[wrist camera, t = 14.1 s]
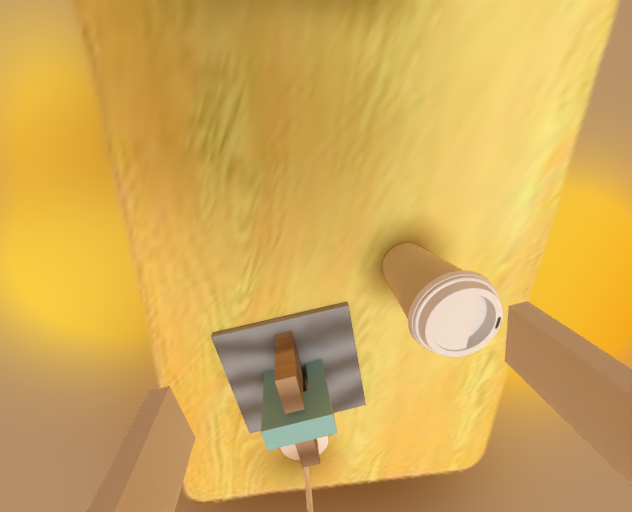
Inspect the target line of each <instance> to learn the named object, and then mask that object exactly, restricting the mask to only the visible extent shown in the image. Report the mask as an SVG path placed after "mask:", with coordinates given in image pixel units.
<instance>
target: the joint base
mask: <svg viewBox="0 0 632 512" xmlns="http://www.w3.org/2000/svg"><path fill="white" fill-rule="evenodd" d="M211 338H212V340H213V343H214V345H215V348H216V350H217V353H218V355H219V358H220V360H221V363H222V365H223V368H224V370H225V373H226V375H227V378H228V380H229V383H230V385H231V388H232V390H233V393H234V395H235V398H236V400H237V403H238V405H239V408H240V410H241V413H242V415H243V418H244V420H245V423H246V425H247V428H248V430H249V433H253V432H257V431H261V420H262V403H263V386H264V372H268V371H272V370H275V384H276V387H277V390H278V393H279V396H280V399H281V402H282V405H283V409H284V412H285V414H288V413H292V412H296V411H300V410H304V409H305V405H304V395H303V392H305V391H309V384H308V376H307V368H306V362H310V361H314V360H318V359H322V362H323V366H324V371H325V375H326V380H327V385H328V390H329V395H330V400H331V405H332V410H333V413H335V412H339V411H343V410H347V409H351V408H355V407H359V406H363V405H366V404H365V398H364V392H363V386H362V381H361V375H360V369H359V363H358V358H357V352H356V346H355V340H354V334H353V329H352V323H351V317H350V311H349V306H348V303H347V302H345V303H340V304H336V305H332V306H327V307H323V308H319V309H314V310H310V311H306V312H301V313H297V314H293V315H289V316H284V317H280V318H276V319H271V320H267V321H263V322H258V323H254V324H250V325H245V326H241V327H237V328H232V329H228V330H224V331H219V332H215V333H213V334H212V336H211ZM295 446H296V449H297V452H298V455H299V458H300V461H301V464H302V468H304V467H308V466H312V465H316V464H320V457H319V450H318V442H317V439H313V440H309V441H305V442H301V443H297V444H295Z"/></svg>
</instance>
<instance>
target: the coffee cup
mask: <svg viewBox="0 0 632 512" xmlns="http://www.w3.org/2000/svg"><path fill="white" fill-rule="evenodd" d="M382 272H383V274H384V276H385V278H386V280H387V282H388V284H389V286H390V287H391V289H392V291H393V293H394V295H395V296H396V298H397V300H398V302H399V304H400V305H401V307H402V309H403V311H404V313H405V315H406V316H407V318H408V326H409V330H410V333H411V335H412V337H413V338H414V339H415V340H416V341H417V342H418V343H419V344H420V345H421V346H423V347H424V348H426V349H428V350H430V351H432V352H435V353H438V354H440V355H443V356H447V357H461V356H465V355H469V354H471V353H474V352H476V351H478V350H479V349H481V348H482V347H484V346H485V345H486V344H487V343H489V342H490V341H491V339H492V338H493V337H494V336H495V334H496V333H497V331H498V330H499V327H500V325H501V322H502V317H503V309H502V305H501V303H500V300H499V296H498V294H497V291H496V289H495V288H494V286H493V285H492V284H491V282H490V281H489V280H488V279H487V278H486V277H484V276H483V275H481V274H479V273H476V272H472V271H464V270H462V269H460V268H458V267H456V266H454V265H452V264H450V263H449V262H447V261H445V260H443V259H441V258H439V257H438V256H436V255H434V254H432V253H430V252H428V251H427V250H425V249H423V248H421V247H419V246H417V245H415V244H412V243H402V244H399V245H397V246H395V247H393V248H392V249H391V250H389V251H388V253H387V254H386V255H385V257H384V259H383V263H382Z"/></svg>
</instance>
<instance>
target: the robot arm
mask: <svg viewBox="0 0 632 512" xmlns="http://www.w3.org/2000/svg"><path fill="white" fill-rule="evenodd" d="M505 362H506V363H507V364H508V365H509V366H510V367H511V368H512V369H513V370H515V372H516V373H518V374H519V375H520V376H521V377H522V378H523V379H524V380H525V381H526V382H527V383H528V384H529V385H530V386H531V387H532V388H533V389H534V390H535V391H536V392H537V393H538V394H539V395H540V396H541V397H542V398H543V399H544V400H545V401H546V402H547V403H548V404H549V405H550V406H551V407H552V408H553V409H554V410H555V411H556V412H557V413H558V414H559V415H560V416H561V417H562V418H564V420H565V421H566V422H567V423H569V424H570V425H571V426H572V427H573V428H574V429H575V430H576V431H577V432H578V433H579V434H580V435H581V436H582V437H583V438H584V439H585V440H586V441H587V442H588V443H589V444H590V445H591V446H592V447H593V448H594V449H595V450H596V451H597V452H598V453H599V454H600V455H601V456H602V457H603V458H604V459H605V460H606V461H608V463H609V464H610V465H611V466H613V467H614V468H615V469H616V470H617V471H618V472H619V473H620V474H621V475H622V476H623V477H624V478H625V479H626V480H627V481H628V482H629V483H630V484H631V485H632V369H630V368H629V367H627V366H626V365H624V364H623V363H621V362H620V361H618V360H617V359H615V358H613V357H612V356H610V355H609V354H608V353H606V352H604V351H603V350H601V349H600V348H598V347H597V346H595V345H593V344H592V343H591V342H589V341H588V340H586V339H584V338H583V337H581V336H580V335H578V334H577V333H575V332H574V331H572V330H571V329H569V328H568V327H566V326H565V325H563V324H561V323H560V322H558V321H557V320H555V319H554V318H552V317H551V316H549V315H548V314H546V313H545V312H543V311H542V310H540V309H538V308H537V307H535V306H534V305H532V304H531V303H529V302H528V301H527V302H523V303H519V304H515V305H510V306H509V310H508V324H507V339H506V353H505ZM194 439H195V436H194V434H193V432H192V430H191V428H190V426H189V424H188V422H187V420H186V418H185V416H184V414H183V412H182V410H181V408H180V406H179V404H178V402H177V400H176V398H175V396H174V394H173V392H172V390H171V388H170V386H168V387H164V388H160V389H156V390H152V391H149V392H148V394H147V396H146V397H145V399H144V402H143V403H142V405H141V407H140V409H139V411H138V413H137V415H136V417H135V419H134V421H133V423H132V425H131V427H130V429H129V431H128V433H127V435H126V437H125V439H124V441H123V443H122V444H121V446H120V449H119V450H118V452H117V454H116V456H115V458H114V460H113V462H112V464H111V466H110V468H109V470H108V472H107V474H106V476H105V478H104V480H103V482H102V484H101V486H100V488H99V489H98V492H97V494H96V495H95V497H94V499H93V501H92V503H91V505H90V507H89V509H88V511H87V512H174V511H175V508H176V504H177V501H178V497H179V493H180V490H181V486H182V483H183V479H184V475H185V472H186V468H187V464H188V461H189V457H190V454H191V450H192V446H193V443H194Z"/></svg>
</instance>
